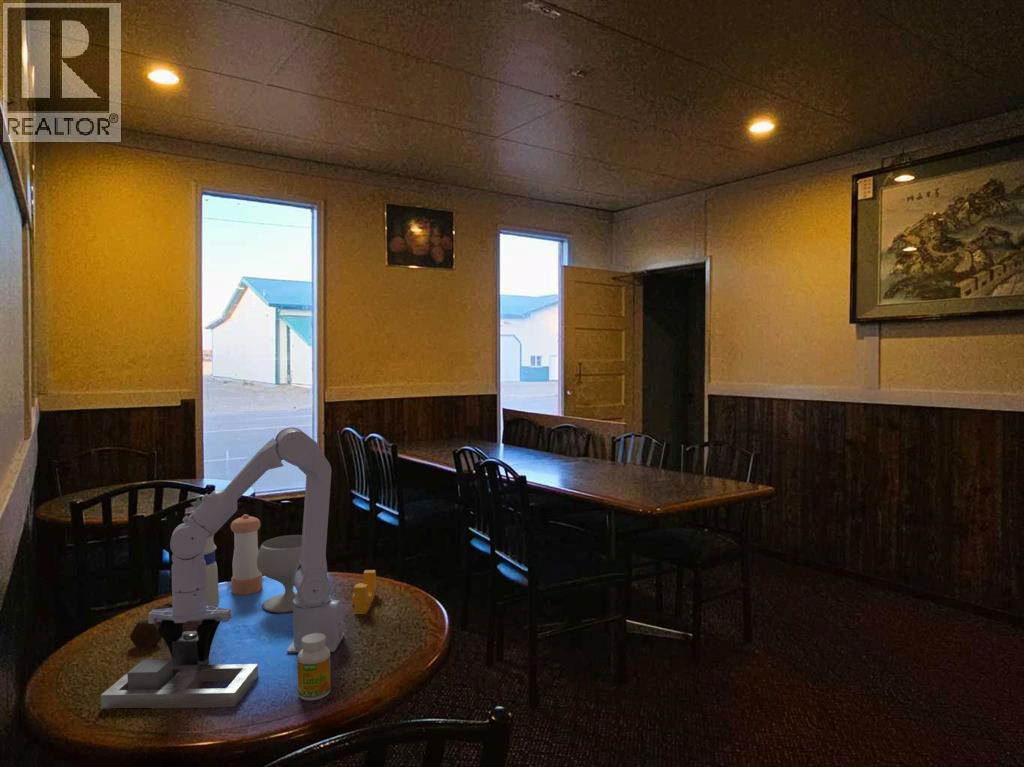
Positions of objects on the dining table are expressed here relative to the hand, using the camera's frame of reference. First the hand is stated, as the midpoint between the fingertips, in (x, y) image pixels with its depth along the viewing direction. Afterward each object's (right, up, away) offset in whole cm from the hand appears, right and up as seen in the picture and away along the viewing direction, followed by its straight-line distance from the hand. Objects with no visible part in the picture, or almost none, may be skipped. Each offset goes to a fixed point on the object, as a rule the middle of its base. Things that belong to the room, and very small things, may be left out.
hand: (191, 659), depth 118 cm
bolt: (-15, -2, +16) cm, 22 cm away
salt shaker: (-7, -1, +41) cm, 41 cm away
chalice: (+7, -1, +31) cm, 32 cm away
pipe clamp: (+25, -1, +30) cm, 39 cm away
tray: (+3, -2, -9) cm, 10 cm away
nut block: (0, -2, 0) cm, 2 cm away
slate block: (-2, -2, -9) cm, 9 cm away
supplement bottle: (+26, -2, -9) cm, 28 cm away
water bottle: (-14, -1, +31) cm, 34 cm away
